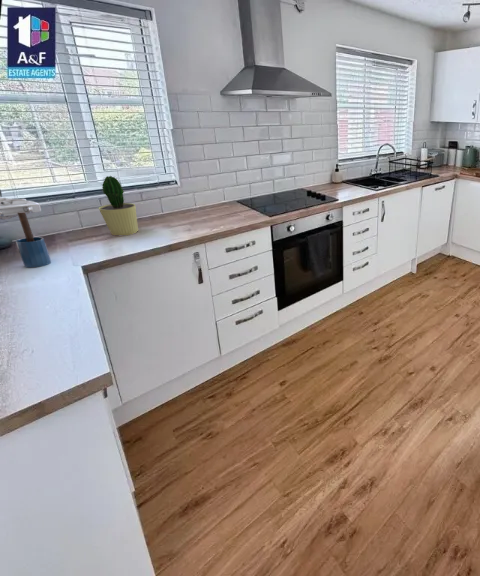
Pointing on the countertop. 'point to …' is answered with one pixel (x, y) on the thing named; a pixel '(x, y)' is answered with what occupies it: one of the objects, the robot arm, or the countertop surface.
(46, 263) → the blue ribbed tumbler
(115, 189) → the potted cactus
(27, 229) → the brush
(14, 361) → the countertop surface
